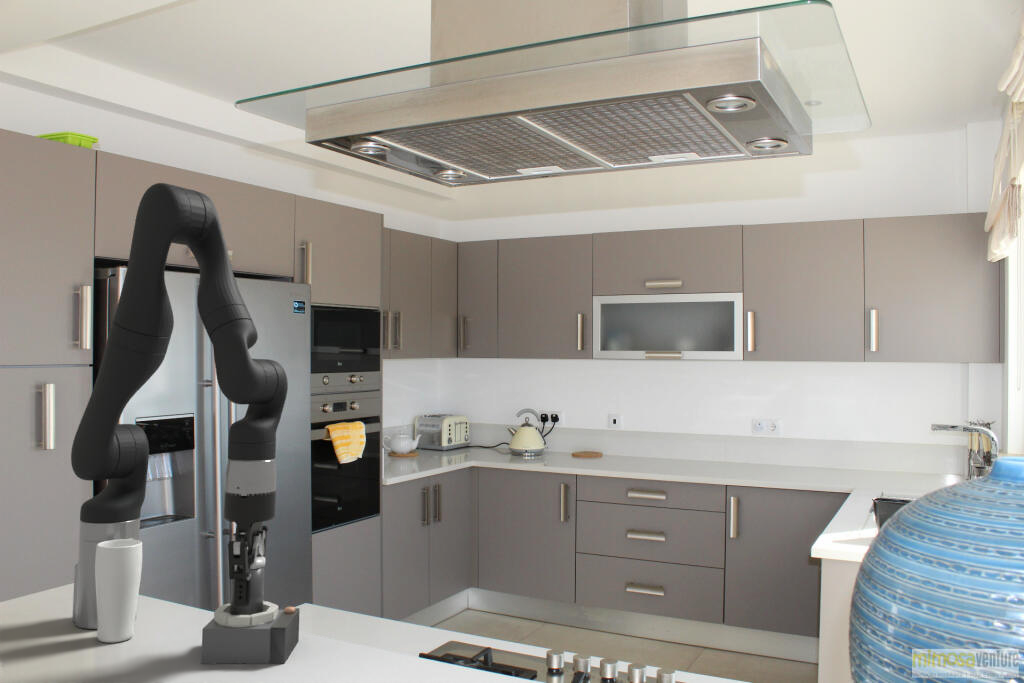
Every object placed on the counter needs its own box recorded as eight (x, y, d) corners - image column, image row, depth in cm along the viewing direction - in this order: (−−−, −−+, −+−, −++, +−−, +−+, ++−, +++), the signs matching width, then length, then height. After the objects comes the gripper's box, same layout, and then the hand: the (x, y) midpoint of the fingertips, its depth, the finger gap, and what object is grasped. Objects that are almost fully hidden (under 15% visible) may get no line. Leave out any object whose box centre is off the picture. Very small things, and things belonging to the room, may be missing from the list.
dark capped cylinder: (222, 613, 123) (224, 560, 123) (246, 605, 127) (248, 554, 128) (246, 618, 121) (248, 564, 121) (270, 610, 125) (272, 557, 126)
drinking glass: (120, 647, 125) (124, 548, 126) (81, 643, 126) (86, 546, 127) (148, 633, 131) (152, 540, 132) (111, 630, 133) (115, 537, 134)
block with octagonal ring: (201, 663, 119) (202, 618, 119) (221, 641, 128) (223, 599, 129) (284, 663, 119) (286, 618, 119) (298, 641, 129) (299, 600, 129)
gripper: (238, 482, 132) (235, 588, 131) (211, 494, 118) (206, 614, 117) (285, 482, 132) (282, 588, 132) (263, 495, 118) (259, 614, 117)
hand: (246, 599), depth 124 cm, fingers closed on dark capped cylinder, 4 cm apart
